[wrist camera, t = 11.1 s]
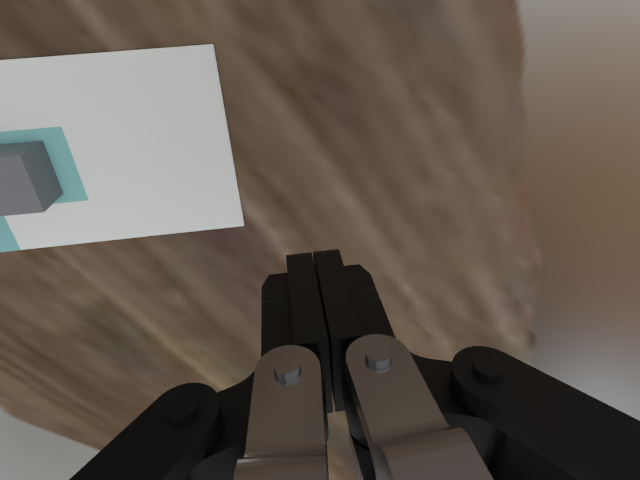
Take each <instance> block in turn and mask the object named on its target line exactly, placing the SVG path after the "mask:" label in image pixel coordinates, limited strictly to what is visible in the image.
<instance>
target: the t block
mask: <svg viewBox="0 0 640 480" xmlns="http://www.w3.org/2000/svg"><path fill="white" fill-rule="evenodd" d="M62 194H63V191H62V188H61V186H60V183H59V181H58V178H57V176H56V173H55V171H54V168H53V165H52V163H51V160H50V158H49V155H48V153H47V150H46V147H45V145H44V142H43V141H33V142H21V143H8V144H0V216H9V215H20V214H31V213H41V212H45V211H46V210H47V209H48V208H49V207H50V206H51V205H52V204H53V203H54V202H55V201H56V200H57V199H58V198H59V197H60V196H61V195H62Z"/></svg>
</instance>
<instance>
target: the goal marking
mask: <svg viewBox="0 0 640 480" xmlns="http://www.w3.org/2000/svg"><path fill="white" fill-rule="evenodd" d="M33 141H43V142H44V145H45V147H46V150H47V153H48V155H49V158H50V160H51V163H52V165H53V168H54V171H55V173H56V176H57V178H58V181H59V183H60V186H61V188H62V191H63V194H62V195H61V196H60V197H59V198H58V199H57V200H56V201H55V202H54V203H53V204H56V203H66V202H76V201H86V200H89V199H88V197H87V194H86V191H85V189H84V186H83V183H82V181H81V178H80V175H79V173H78V170H77V167H76V164H75V162H74V159H73V156H72V154H71V151H70V148H69V146H68V143H67V140H66V138H65V135H64V132H63V130H62V127H50V128H38V129H27V130H16V131H4V132H0V144H8V143H21V142H33ZM16 250H21V249H20V247H19V245H18V243H17V241H16V239H15V237H14V235H13V233H12V231H11V229H10V227H9V225H8V223H7V221H6V219H5V217H4V216H0V252H7V251H16Z"/></svg>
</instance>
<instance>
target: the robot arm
mask: <svg viewBox="0 0 640 480" xmlns="http://www.w3.org/2000/svg"><path fill="white" fill-rule="evenodd" d="M286 260H287V271H288V273H281V274H272V275H269V276H268V278H267V279H266V281H265V282H264V284H263V286H262V335H261V358H260V360H259V361H258V363H257V365H256V367H255V371H254V372H253V373H252V374H251V375H250V376H249V377H248V378H246V379H245V380H244V381H242V382H240V383H239V384H236V385H234V386H232V387H230V388H227V389H225V390H222V391H220V392H218V393H216V391H215V390H214V389H213V388H211V387H210V386H208V385H205V384H201V383H187V384H182V385H179V386H176V387H174V388H172V389H170V390H168V391H167V392H165V393H164V394H162V395H161V396H160V397H159V398H158V399H157V400H156V401H154V402H153V403H152V404H151V405H150V406H149V407H148V408H147V409H146V410H145V411H144V412H143V413H141V414H140V415H139V416H138V417H137V418H136V419H135V420H134V421H133V422H132V423H131V424H129V425H128V426H127V427H126V428H125V429H124V430H123V431H122V432H121V433H120V434H119V435H117V436H116V437H115V438H114V439H113V440H112V441H111V442H110V443H109V444H108V445H107V446H106V447H104V448H103V449H102V450H101V451H100V452H99V453H98V454H97V455H96V456H95V457H94V458H93V459H91V460H90V461H89V462H88V463H87V464H86V465H85V466H84V467H83V468H82V469H80V471H78V472H77V473H76V474H75V475H74V476H73V477H72V478H71V479H70V480H329V472H328V456H327V440H328V435H329V432H328V418H327V413H331V412H333V405H332V394H333V399H334V405H335V411H336V412H337V411H344V410H345V411H346V416H347V421H348V431H349V443H350V447H351V450H352V454H353V457H354V461H355V464H356V468H357V472H358V475H359V479H360V480H640V421H639V420H637V419H634V418H633V417H631V416H629V415H627V414H625V413H623V412H621V411H619V410H617V409H615V408H613V407H611V406H609V405H607V404H605V403H603V402H601V401H599V400H597V399H595V398H593V397H591V396H589V395H587V394H585V393H583V392H581V391H579V390H577V389H575V388H573V387H571V386H569V385H567V384H565V383H563V382H561V381H559V380H557V379H555V378H553V377H551V376H549V375H547V374H545V373H543V372H541V371H539V370H537V369H536V368H534V367H532V366H530V365H528V364H526V363H524V362H522V361H520V360H518V359H516V358H514V357H512V356H510V355H508V354H506V353H504V352H502V351H499V350H497V349H494V348H490V347H484V346H473V347H468V348H465V349H463V350H461V351H459V352H458V353H457V354H456V355H455V356H454V358H453V361H452V362H450V361H442V360H434V359H428V358H423V357H420V356H417V355H415V354H412V353H411V352H409V350H408V349H407V347H406V346H405V345H404V344H403V343H402V342H400V341H399V340H397V339H396V338H395V336H394V333H393V331H392V328H391V325H390V323H389V320H388V318H387V315H386V313H385V310H384V308H383V305H382V302H381V300H380V299H379V295H378V292H377V290H376V289H375V284H374V282H373V279H372V277H371V274H370V273H369V272H367V271H366V270H365V269H364V268H363V267H362V266H360V265H359V264H358V265H349V266H344V265H343V261H342V258H341V255H340V252H339V249H336V250H327V251H318V252H313V258H312V253H311V252H310V253H301V254H292V255H286ZM313 260H314V263H313ZM331 388H332V390H331Z"/></svg>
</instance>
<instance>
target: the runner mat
mask: <svg viewBox="0 0 640 480" xmlns="http://www.w3.org/2000/svg"><path fill="white" fill-rule="evenodd" d="M50 127H62V130H63V132H64V135H65V138H66V140H67V143H68V146H69V148H70V151H71V154H72V156H73V159H74V162H75V164H76V167H77V170H78V173H79V175H80V178H81V181H82V183H83V186H84V189H85V191H86V194H87V197H88V199H89V200H86V201H76V202H66V203H56V204H52V205H51V206H50V207H49V208H48V209H47V210H46V211H45V212H41V213H31V214H20V215H9V216H4V217H5V219H6V221H7V223H8V225H9V227H10V229H11V231H12V233H13V235H14V237H15V239H16V241H17V243H18V245H19V247H20V249H21V250H24V249H34V248H43V247H52V246H62V245H71V244H80V243H90V242H99V241H108V240H117V239H127V238H136V237H145V236H155V235H164V234H173V233H183V232H192V231H201V230H210V229H220V228H229V227H238V226H244V219H243V213H242V208H241V202H240V196H239V190H238V184H237V178H236V172H235V167H234V161H233V155H232V149H231V143H230V137H229V132H228V126H227V120H226V114H225V108H224V102H223V97H222V91H221V85H220V79H219V73H218V67H217V62H216V56H215V50H214V44H204V45H191V46H178V47H164V48H151V49H138V50H125V51H112V52H98V53H85V54H72V55H59V56H46V57H32V58H19V59H6V60H0V132H4V131H16V130H27V129H38V128H50Z"/></svg>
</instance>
